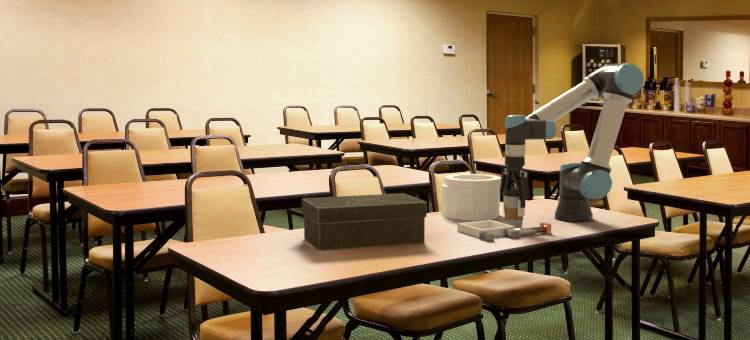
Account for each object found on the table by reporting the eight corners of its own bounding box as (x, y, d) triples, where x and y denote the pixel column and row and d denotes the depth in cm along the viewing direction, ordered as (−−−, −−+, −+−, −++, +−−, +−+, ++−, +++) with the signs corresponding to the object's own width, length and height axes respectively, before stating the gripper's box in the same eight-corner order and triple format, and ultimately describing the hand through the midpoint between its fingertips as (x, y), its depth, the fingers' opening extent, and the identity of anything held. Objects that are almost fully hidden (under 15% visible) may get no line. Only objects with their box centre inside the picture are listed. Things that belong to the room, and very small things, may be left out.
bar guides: (510, 235, 290) (511, 229, 289) (519, 237, 285) (519, 231, 285) (479, 239, 283) (479, 232, 283) (486, 241, 279) (487, 234, 279)
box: (426, 244, 277) (426, 201, 275) (318, 252, 264) (317, 207, 262) (403, 232, 298) (404, 193, 296) (302, 239, 285) (301, 198, 283)
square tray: (490, 227, 305) (491, 219, 305) (515, 234, 292) (515, 226, 291) (457, 231, 298) (457, 223, 298) (480, 238, 285) (480, 230, 284)
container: (469, 208, 351) (469, 172, 349) (511, 215, 333) (512, 177, 332) (430, 215, 334) (430, 177, 332) (473, 222, 317) (473, 182, 315)
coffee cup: (524, 230, 300) (525, 191, 298) (502, 229, 301) (502, 190, 300) (524, 226, 308) (525, 188, 306) (503, 225, 309) (503, 187, 308)
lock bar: (544, 231, 296) (544, 222, 296) (551, 233, 293) (551, 224, 292) (504, 236, 288) (505, 226, 288) (511, 238, 284) (511, 228, 284)
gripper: (490, 153, 309) (489, 211, 311) (524, 158, 290) (523, 219, 293) (506, 152, 312) (505, 209, 315) (540, 157, 294) (539, 217, 296)
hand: (513, 214), depth 304 cm, fingers closed on coffee cup, 8 cm apart
